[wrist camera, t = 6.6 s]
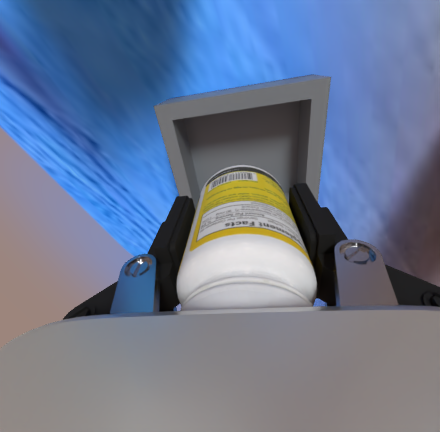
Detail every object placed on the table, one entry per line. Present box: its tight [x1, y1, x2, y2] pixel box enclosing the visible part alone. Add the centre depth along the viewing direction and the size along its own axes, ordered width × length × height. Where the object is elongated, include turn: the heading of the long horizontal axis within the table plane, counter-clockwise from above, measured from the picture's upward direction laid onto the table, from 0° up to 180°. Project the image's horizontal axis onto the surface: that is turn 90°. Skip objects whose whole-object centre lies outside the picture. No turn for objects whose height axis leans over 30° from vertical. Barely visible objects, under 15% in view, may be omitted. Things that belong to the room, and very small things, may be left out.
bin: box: [154, 75, 331, 210], centre depth 18 cm, size 11×10×4 cm
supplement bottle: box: [177, 165, 317, 311], centre depth 9 cm, size 5×5×8 cm
